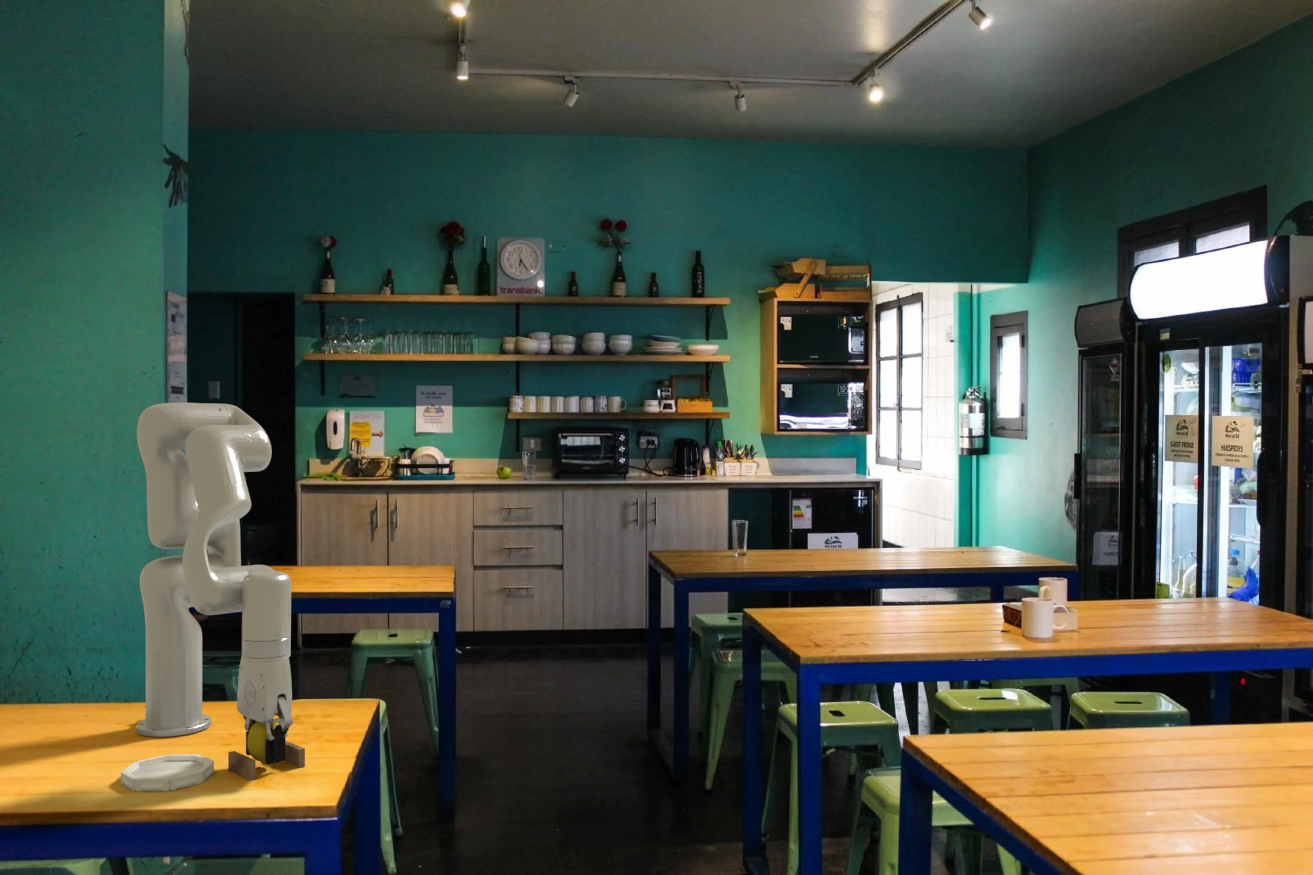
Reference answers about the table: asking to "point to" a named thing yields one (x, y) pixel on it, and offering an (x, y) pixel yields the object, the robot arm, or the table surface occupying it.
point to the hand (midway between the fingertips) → (265, 756)
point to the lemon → (258, 740)
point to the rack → (248, 765)
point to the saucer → (167, 772)
